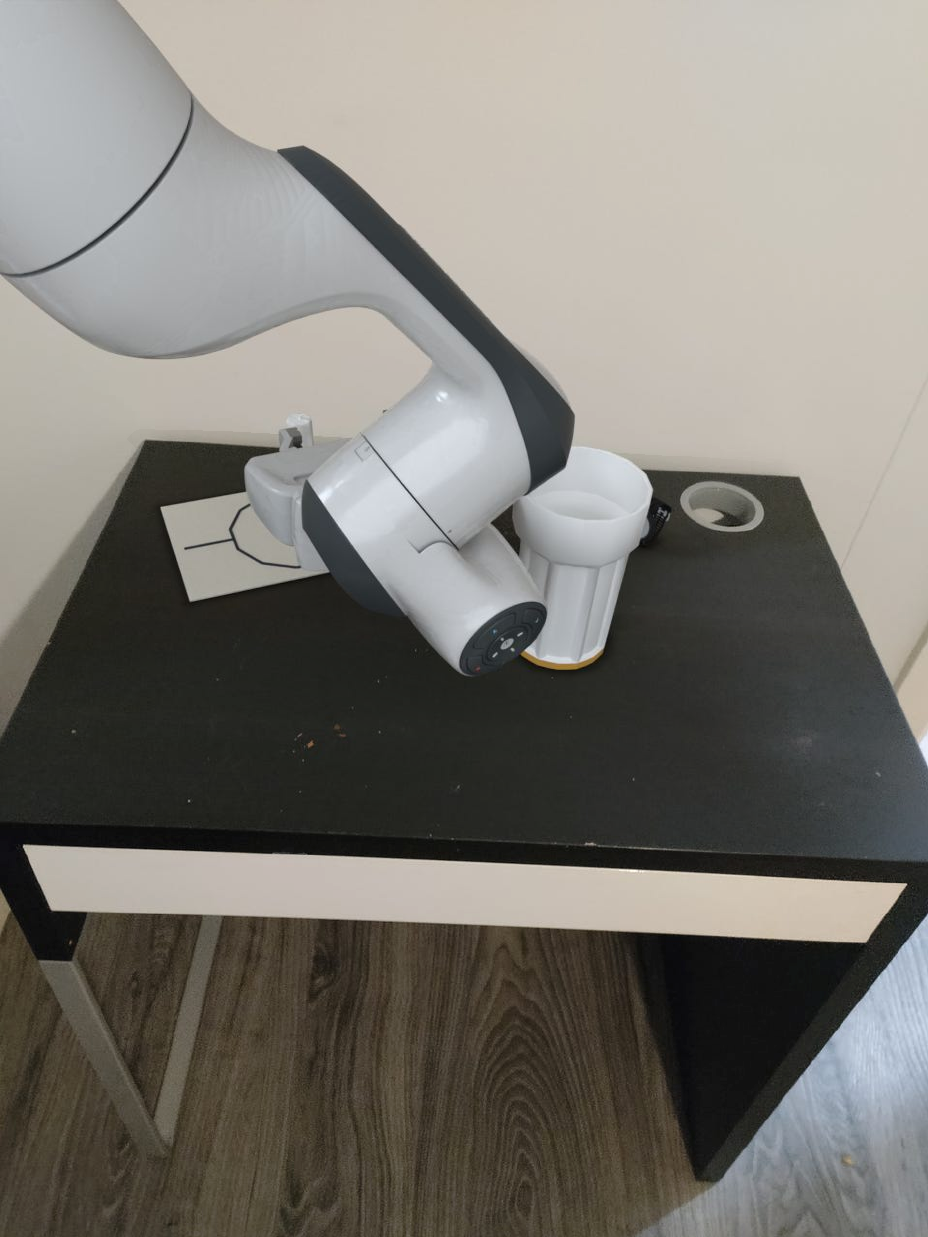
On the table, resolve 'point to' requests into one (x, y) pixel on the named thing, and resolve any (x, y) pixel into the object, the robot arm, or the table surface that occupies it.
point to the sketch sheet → (227, 548)
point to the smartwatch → (650, 521)
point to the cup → (580, 550)
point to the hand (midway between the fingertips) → (339, 425)
